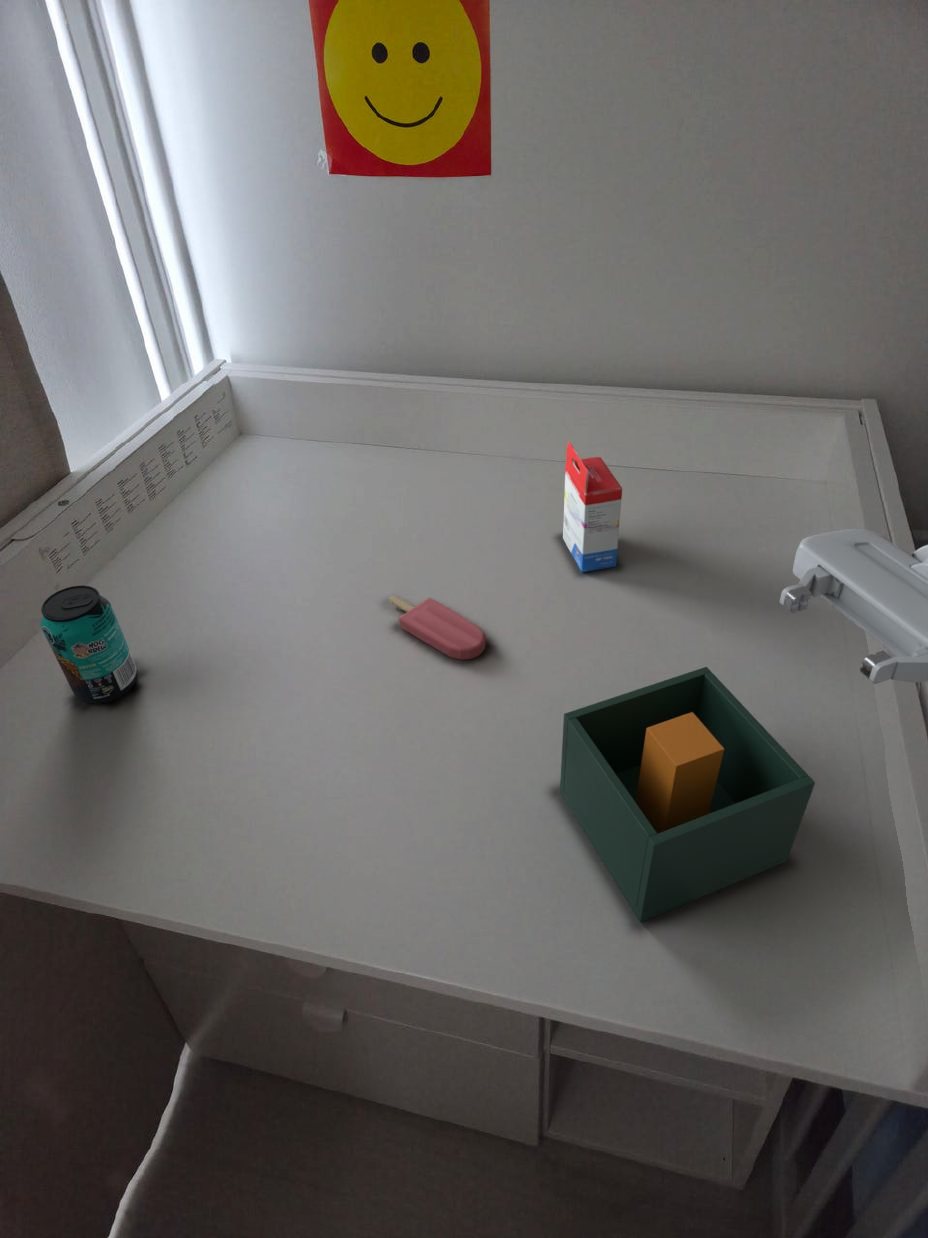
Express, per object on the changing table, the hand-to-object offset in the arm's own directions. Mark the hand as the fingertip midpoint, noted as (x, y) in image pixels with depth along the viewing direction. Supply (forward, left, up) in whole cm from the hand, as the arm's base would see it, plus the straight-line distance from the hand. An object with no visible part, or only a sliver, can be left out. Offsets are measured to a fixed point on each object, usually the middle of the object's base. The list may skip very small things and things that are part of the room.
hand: (825, 634), depth 65 cm
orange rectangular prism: (0, +12, -18) cm, 22 cm away
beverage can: (+41, +59, -19) cm, 74 cm away
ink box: (+41, -2, -19) cm, 45 cm away
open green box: (0, +12, -19) cm, 22 cm away
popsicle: (+35, +22, -19) cm, 46 cm away
